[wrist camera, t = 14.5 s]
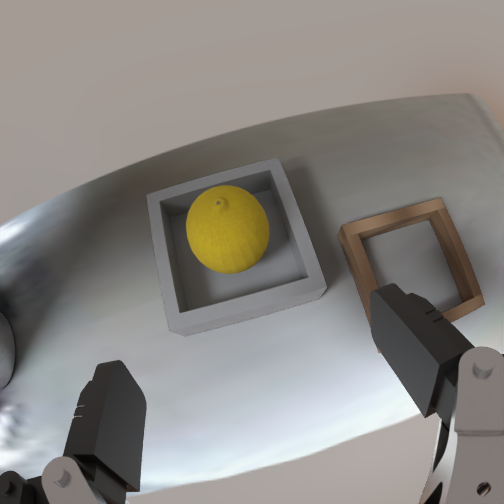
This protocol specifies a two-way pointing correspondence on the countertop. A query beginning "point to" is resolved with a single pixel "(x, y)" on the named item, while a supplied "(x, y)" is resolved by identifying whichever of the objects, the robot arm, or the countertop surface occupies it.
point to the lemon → (227, 229)
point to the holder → (239, 284)
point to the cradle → (400, 218)
